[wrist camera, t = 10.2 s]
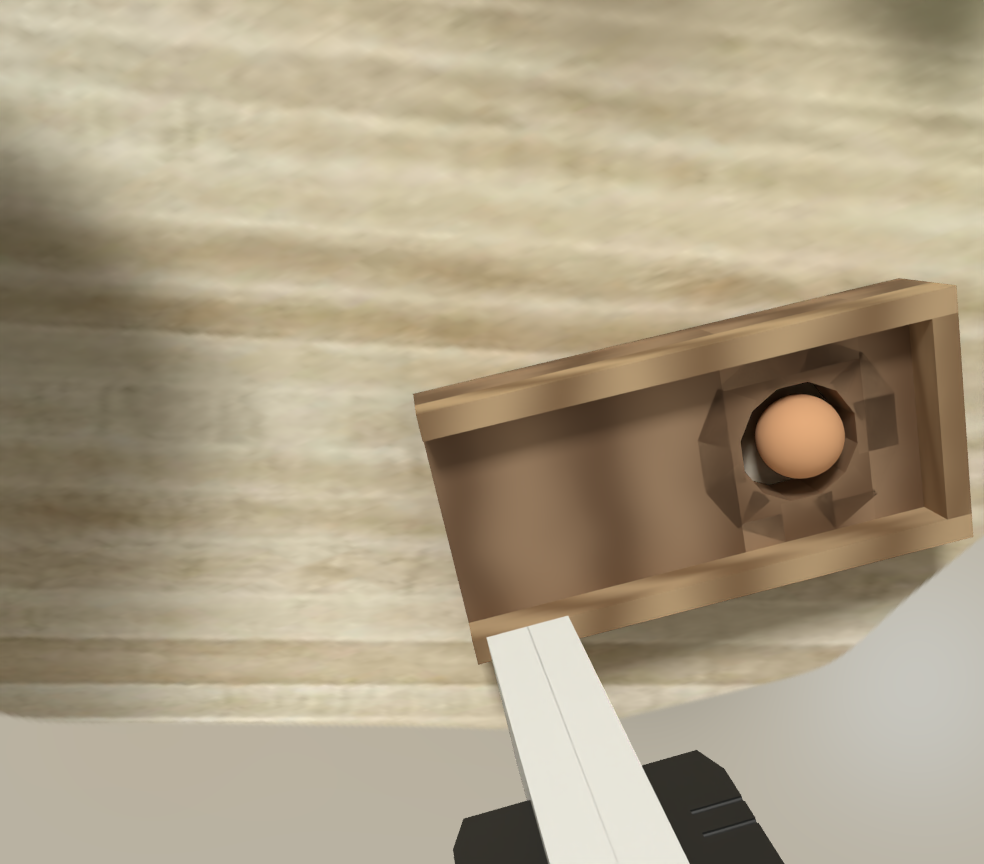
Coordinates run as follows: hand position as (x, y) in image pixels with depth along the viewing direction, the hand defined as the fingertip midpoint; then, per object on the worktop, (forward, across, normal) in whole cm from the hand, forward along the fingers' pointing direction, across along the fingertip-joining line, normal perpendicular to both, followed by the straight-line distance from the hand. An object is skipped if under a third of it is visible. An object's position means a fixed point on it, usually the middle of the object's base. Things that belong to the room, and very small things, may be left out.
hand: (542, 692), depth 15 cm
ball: (+23, +16, -6) cm, 29 cm away
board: (+25, +11, -6) cm, 28 cm away
